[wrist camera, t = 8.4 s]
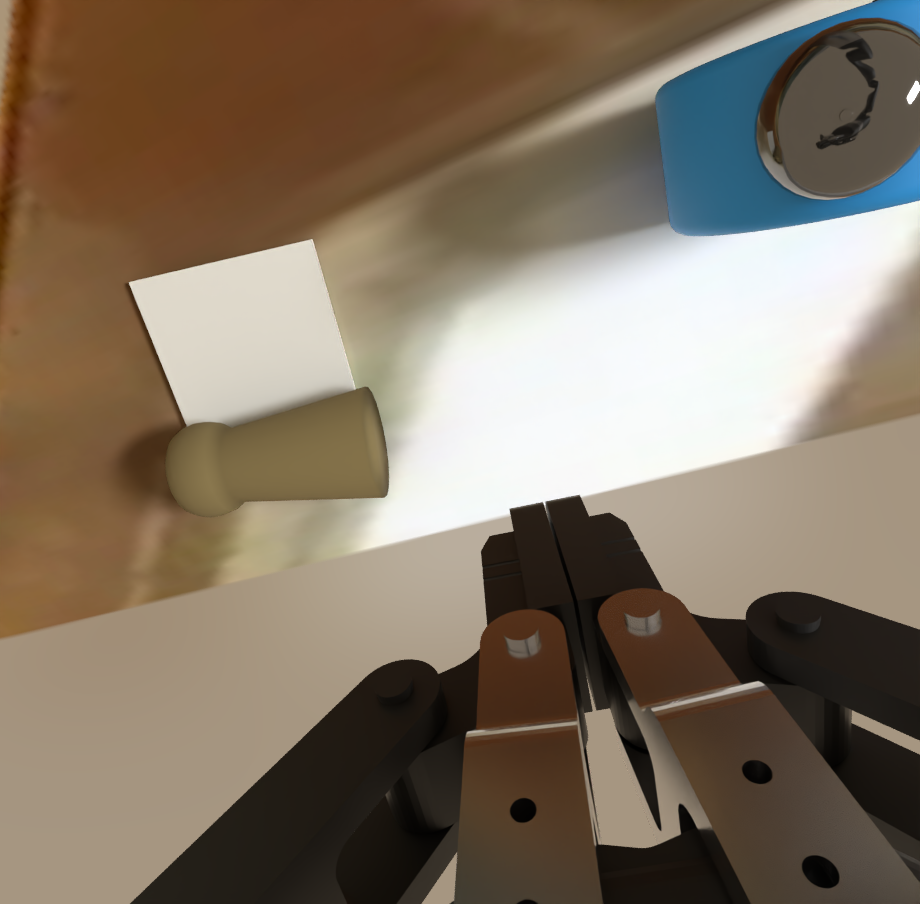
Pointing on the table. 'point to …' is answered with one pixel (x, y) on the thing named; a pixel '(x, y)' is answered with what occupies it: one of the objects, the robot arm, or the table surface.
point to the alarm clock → (797, 125)
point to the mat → (246, 335)
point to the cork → (282, 457)
